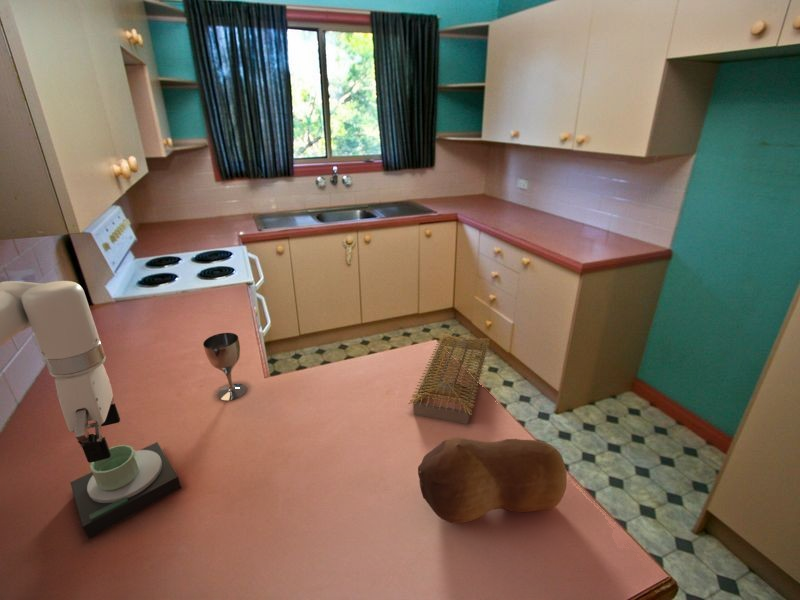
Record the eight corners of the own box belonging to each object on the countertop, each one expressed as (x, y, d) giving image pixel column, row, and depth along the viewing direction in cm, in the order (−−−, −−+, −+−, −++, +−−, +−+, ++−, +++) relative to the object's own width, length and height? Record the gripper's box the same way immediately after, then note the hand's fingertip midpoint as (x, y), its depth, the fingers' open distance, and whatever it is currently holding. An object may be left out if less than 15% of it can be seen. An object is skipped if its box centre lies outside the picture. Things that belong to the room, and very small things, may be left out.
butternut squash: (424, 543, 66) (581, 530, 68) (421, 459, 65) (580, 448, 67) (416, 496, 80) (545, 487, 81) (413, 426, 79) (544, 418, 80)
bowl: (94, 497, 75) (86, 477, 73) (101, 470, 80) (94, 451, 78) (138, 484, 77) (131, 465, 75) (142, 458, 83) (136, 440, 81)
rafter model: (471, 427, 94) (472, 404, 91) (408, 415, 98) (408, 393, 96) (489, 349, 124) (491, 330, 122) (441, 342, 128) (441, 324, 126)
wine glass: (210, 392, 109) (197, 340, 103) (240, 379, 114) (229, 329, 108) (223, 405, 103) (211, 352, 97) (254, 391, 108) (244, 340, 102)
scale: (88, 539, 71) (81, 523, 70) (75, 493, 80) (68, 478, 79) (181, 488, 81) (177, 473, 79) (161, 452, 89) (156, 438, 88)
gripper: (62, 338, 74) (91, 416, 81) (28, 392, 60) (67, 482, 67) (112, 330, 77) (136, 407, 84) (91, 380, 63) (122, 468, 69)
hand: (105, 440), depth 75 cm, fingers open, 9 cm apart
